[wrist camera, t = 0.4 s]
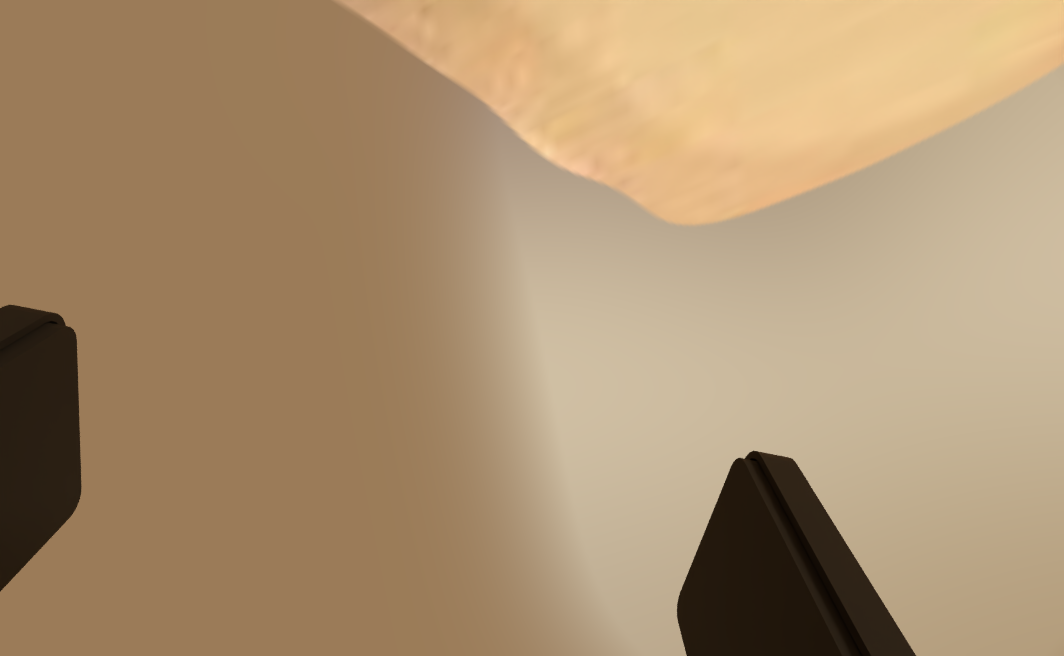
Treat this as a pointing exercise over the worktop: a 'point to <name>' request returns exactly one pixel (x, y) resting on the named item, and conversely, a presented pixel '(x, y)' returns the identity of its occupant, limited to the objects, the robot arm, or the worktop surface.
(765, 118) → the worktop surface
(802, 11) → the worktop surface
